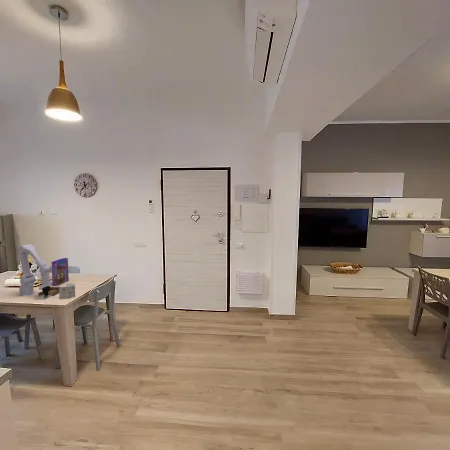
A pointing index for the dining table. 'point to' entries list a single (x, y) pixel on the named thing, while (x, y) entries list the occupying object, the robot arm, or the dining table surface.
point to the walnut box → (51, 291)
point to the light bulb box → (67, 291)
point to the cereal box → (60, 271)
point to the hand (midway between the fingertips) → (46, 295)
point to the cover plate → (42, 297)
